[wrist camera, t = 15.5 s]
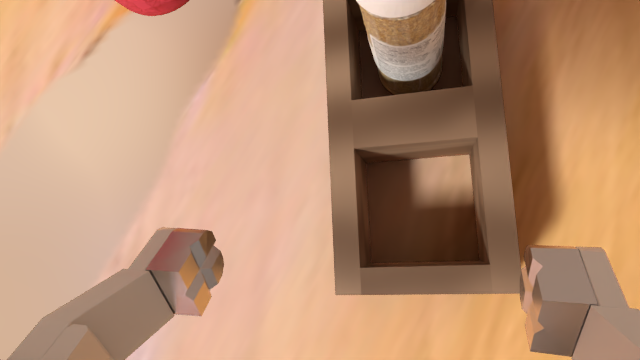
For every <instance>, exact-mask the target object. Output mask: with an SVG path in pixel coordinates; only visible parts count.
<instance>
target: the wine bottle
mask: <svg viewBox="0 0 640 360" xmlns="http://www.w3.org/2000/svg"><path fill="white" fill-rule="evenodd" d="M115 1H116V2H118V3H119V4H121V5H122V6H124V7H126V8H127V9H129V10H131V11H133V12H135V13H138V14H142V15H147V16H156V15H163V14H167V13H170V12H172V11H175V10H176V9H178V8H180V7H181V6H183V5H184V4H186V3H187V2H188V1H189V0H115Z"/></svg>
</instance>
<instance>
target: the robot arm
mask: <svg viewBox="0 0 640 360" xmlns="http://www.w3.org/2000/svg"><path fill="white" fill-rule="evenodd" d="M215 241H216V239H215V237H214V235H213V233H212V231H208V230H197V229H183V228H165V227H162V228H160V229H158V230H157V231H156V232H155V234H154V235H153V236H152V238H151V239H150V240H149V242H148V243H147V244H146V246H145V247H144V248H143V250H142V251H141V252H140V254H139V255H138V256H137V258H136V259H135V260H134V262H133V263H132V264H131V266H130V267H129V268H128V269H122V270H121V271H119V272H117V273H116V274H114V275H112V276H111V277H109V278H108V279H106V280H104V281H103V282H101V283H99V284H98V285H96V286H94V287H93V288H91V289H89V290H88V291H86V292H85V293H83V294H81V295H80V296H78V297H76V298H75V299H73V300H71V301H70V302H68V303H66V304H65V305H63V306H61V307H60V308H58V309H57V310H55V311H53V312H52V313H50V314H48V315H47V316H45V317H43V318H42V319H41V320H40V321H39V322H38V324H37V325H36V326H35V327H34V328H33V330H32V331H31V332H30V333H29V334H28V335H27V337H26V338H25V339H24V340H23V341H22V343H21V344H20V345H19V346H18V347H17V348H16V350H15V351H14V352H13V353H12V354H11V356H10V357H9V358H8V359H7V360H125V359H126V358H127V357H128V356H129V355H131V354H132V353H133V352H134V351H135V350H136V349H137V348H138V347H140V346H141V345H142V344H143V343H144V342H145V341H146V340H148V339H149V338H150V337H151V336H152V335H153V334H154V333H156V332H157V331H158V330H159V329H160V328H161V327H162V326H163V325H165V324H166V323H167V322H168V321H169V320H170V319H171V318H173V317H174V314H178V315H191V316H202V314H203V312H204V310H205V308H206V306H207V304H208V302H209V300H210V299H211V297H212V296H211V292H210V289H211V288H213V287H214V286H215V285H217V284H218V283H219V281H220V278H221V276H222V273H223V267H224V262H223V256H222V254H221V251H220V250H218V249H217V248H216V247H215V246H214V243H215ZM524 260H525V265H526V266H525V267H524V268H523V269H521V275H520V290H519V291H520V300H521V306H522V309H523V310H524V311H525V312H526V313H527V318H526V323H525V328H526V333H527V338H528V344H529V349H530V351H532V352H539V353H547V354H555V355H562V356H570V357H572V360H640V311H639V310H638V309H632V308H629V306H628V304H627V301H626V299H625V297H624V294H623V292H622V290H621V287H620V285H619V283H618V280H617V278H616V275H615V273H614V271H613V268H612V266H611V264H610V261H609V259H608V257H607V254H606V252H605V251H604V250H603V249H602V248H598V247H570V246H544V245H527V247H526V249H525V253H524ZM0 360H1V359H0Z"/></svg>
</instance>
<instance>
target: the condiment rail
mask: <svg viewBox="0 0 640 360" xmlns="http://www.w3.org/2000/svg"><path fill="white" fill-rule="evenodd" d="M323 13H324V37H325V60H326V84H327V107H328V131H329V154H330V177H331V201H332V224H333V248H334V271H335V294H336V295H400V294H517V293H520V291H519V290H520V275H521V264H520V254H519V245H518V236H517V226H516V217H515V208H514V198H513V189H512V180H511V170H510V161H509V152H508V142H507V133H506V124H505V115H504V105H503V96H502V87H501V77H500V68H499V59H498V49H497V40H496V31H495V21H494V12H493V3H492V0H446V13H445V17H451V16H457V25H458V36H459V46H460V57H461V68H462V79H463V87H457V88H449V89H440V90H432V91H424V92H416V93H407V94H399V95H391V96H383V97H374V98H366V99H362V84H361V66H360V48H359V31H364V30H366V27H365V24H364V21H363V16H362V12H361V9H360V6H359V3H358V2H357V1H356V0H323ZM467 154H470V165H471V175H472V186H473V197H474V207H475V218H476V229H477V240H478V250H479V260H471V261H433V262H396V263H371V246H370V228H369V210H368V192H367V174H366V163H372V162H384V161H395V160H407V159H419V158H431V157H443V156H455V155H467Z"/></svg>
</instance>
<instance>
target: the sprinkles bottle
mask: <svg viewBox="0 0 640 360" xmlns="http://www.w3.org/2000/svg"><path fill="white" fill-rule="evenodd" d="M356 1H357V2H358V3H359V6H360V9H361V12H362V16H363V21H364V24H365V27H366V31H367V36H368V41H369V44H370V47H371V51H372V54H373V57H374V60H375V63H376V65H377V67H378V76H379V78H380V81H381V83H382V84H383V86H384V87H385V88H386V89H387V90H388V91H389V92H391V93H392V94H394V95H399V94H407V93H416V92H424V91H429V90H430V89H431V88H432V87H433V86H434V85H435V84H436V83H437V81H438V80H439V77H440V75H441V70H442V64H443V63H442V56H441V55H442V51H443V42H444V27H445V13H446V0H356Z"/></svg>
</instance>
